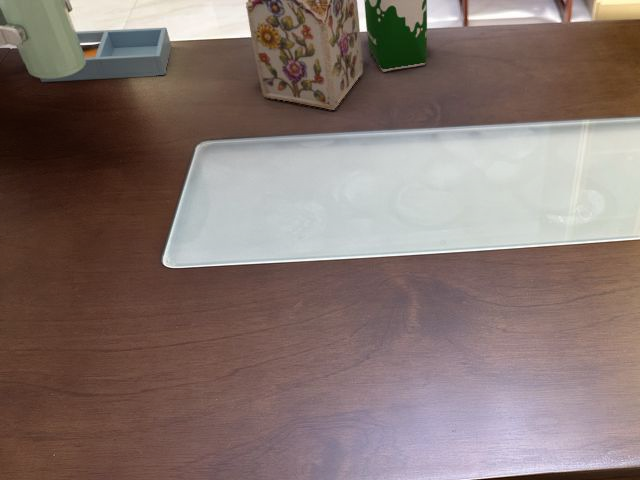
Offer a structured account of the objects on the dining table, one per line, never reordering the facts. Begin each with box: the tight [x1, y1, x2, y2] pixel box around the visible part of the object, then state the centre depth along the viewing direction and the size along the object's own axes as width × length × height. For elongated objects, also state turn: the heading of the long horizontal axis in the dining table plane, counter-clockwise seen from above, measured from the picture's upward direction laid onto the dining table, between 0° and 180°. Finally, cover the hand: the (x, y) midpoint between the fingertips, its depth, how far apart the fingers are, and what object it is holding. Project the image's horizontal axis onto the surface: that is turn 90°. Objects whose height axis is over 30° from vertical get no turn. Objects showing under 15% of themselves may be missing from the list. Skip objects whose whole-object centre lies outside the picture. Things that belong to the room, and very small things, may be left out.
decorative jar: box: [245, 0, 364, 109], centre depth 101 cm, size 12×12×18 cm
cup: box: [0, 0, 86, 79], centre depth 84 cm, size 7×7×10 cm
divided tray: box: [39, 27, 173, 83], centre depth 110 cm, size 18×9×3 cm, turn 99°
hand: (45, 20), depth 84 cm, fingers closed on cup, 7 cm apart
